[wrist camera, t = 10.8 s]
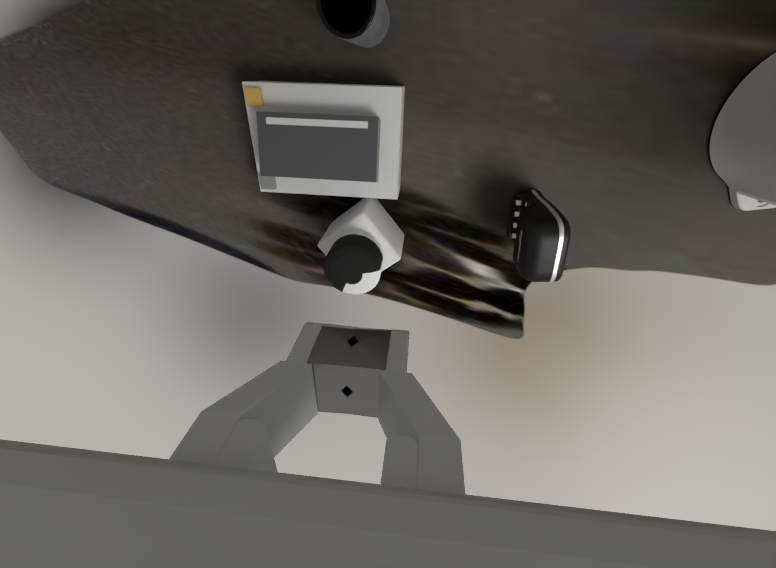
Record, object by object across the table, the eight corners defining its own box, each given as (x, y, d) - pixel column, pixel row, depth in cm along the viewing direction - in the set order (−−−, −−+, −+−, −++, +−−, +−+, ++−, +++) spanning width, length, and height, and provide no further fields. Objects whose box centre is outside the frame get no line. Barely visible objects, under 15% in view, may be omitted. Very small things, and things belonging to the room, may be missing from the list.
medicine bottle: (330, 222, 45) (302, 266, 35) (371, 191, 42) (354, 228, 32) (364, 261, 48) (347, 312, 38) (405, 234, 45) (398, 281, 35)
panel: (404, 86, 36) (401, 87, 32) (399, 189, 42) (396, 201, 38) (258, 80, 37) (237, 81, 33) (273, 182, 43) (257, 193, 39)
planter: (347, 49, 35) (319, 41, 26) (341, -9, 32) (310, -39, 24) (391, 46, 34) (378, 37, 26) (389, -13, 32) (374, -45, 23)
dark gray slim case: (380, 119, 34) (378, 116, 32) (378, 182, 36) (375, 182, 34) (264, 114, 35) (255, 110, 33) (267, 175, 36) (259, 175, 35)
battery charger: (506, 188, 40) (530, 225, 31) (539, 187, 40) (575, 223, 30) (501, 242, 44) (521, 289, 34) (531, 241, 44) (560, 289, 34)
